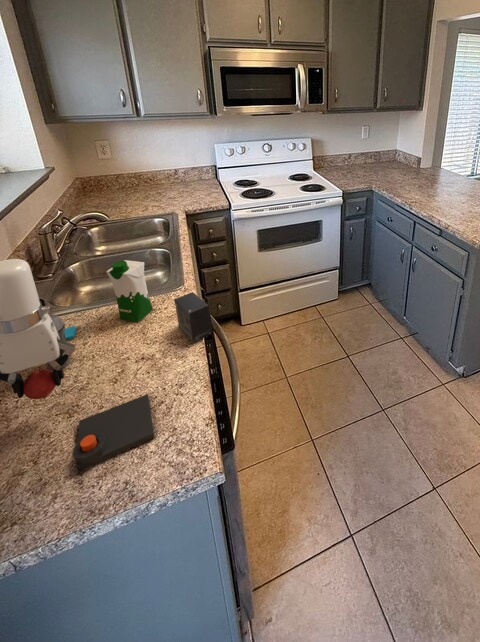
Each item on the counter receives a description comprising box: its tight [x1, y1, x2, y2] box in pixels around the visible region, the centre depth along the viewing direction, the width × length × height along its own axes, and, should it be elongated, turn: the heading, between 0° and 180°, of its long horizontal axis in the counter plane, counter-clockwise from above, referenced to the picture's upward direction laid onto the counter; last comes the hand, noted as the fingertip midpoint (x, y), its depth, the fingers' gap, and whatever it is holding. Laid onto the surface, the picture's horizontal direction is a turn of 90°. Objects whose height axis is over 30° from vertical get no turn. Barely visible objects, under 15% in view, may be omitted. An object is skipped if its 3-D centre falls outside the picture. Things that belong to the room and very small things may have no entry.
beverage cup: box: [46, 313, 71, 372], centre depth 94 cm, size 7×7×20 cm
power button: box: [80, 435, 97, 452], centre depth 72 cm, size 3×3×2 cm
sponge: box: [65, 325, 77, 341], centre depth 107 cm, size 2×12×6 cm
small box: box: [173, 291, 213, 344], centre depth 108 cm, size 11×6×10 cm, turn 44°
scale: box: [72, 393, 155, 473], centre depth 78 cm, size 14×12×3 cm
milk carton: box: [105, 259, 154, 323], centre depth 115 cm, size 9×9×20 cm
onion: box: [23, 366, 57, 400], centre depth 79 cm, size 6×6×8 cm
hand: (41, 386), depth 79 cm, fingers closed on onion, 6 cm apart
